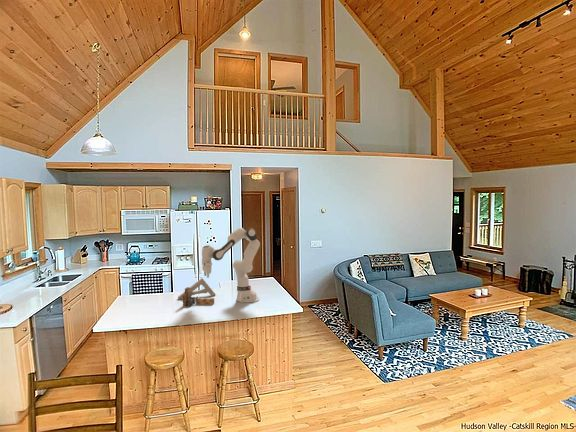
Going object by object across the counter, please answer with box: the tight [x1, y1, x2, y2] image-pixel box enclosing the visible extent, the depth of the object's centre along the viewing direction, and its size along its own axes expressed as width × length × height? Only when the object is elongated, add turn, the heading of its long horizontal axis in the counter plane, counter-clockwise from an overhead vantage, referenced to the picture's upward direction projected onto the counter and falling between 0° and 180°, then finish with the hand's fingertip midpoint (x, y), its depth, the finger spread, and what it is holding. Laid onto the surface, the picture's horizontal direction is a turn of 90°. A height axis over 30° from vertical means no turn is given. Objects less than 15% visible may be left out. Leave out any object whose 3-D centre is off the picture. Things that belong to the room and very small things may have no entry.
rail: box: [195, 296, 215, 305], centre depth 317 cm, size 17×4×6 cm, turn 85°
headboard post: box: [182, 286, 196, 308], centre depth 315 cm, size 7×16×16 cm, turn 175°
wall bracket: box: [177, 277, 216, 300], centre depth 339 cm, size 22×4×30 cm
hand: (206, 276), depth 319 cm, fingers open, 8 cm apart
